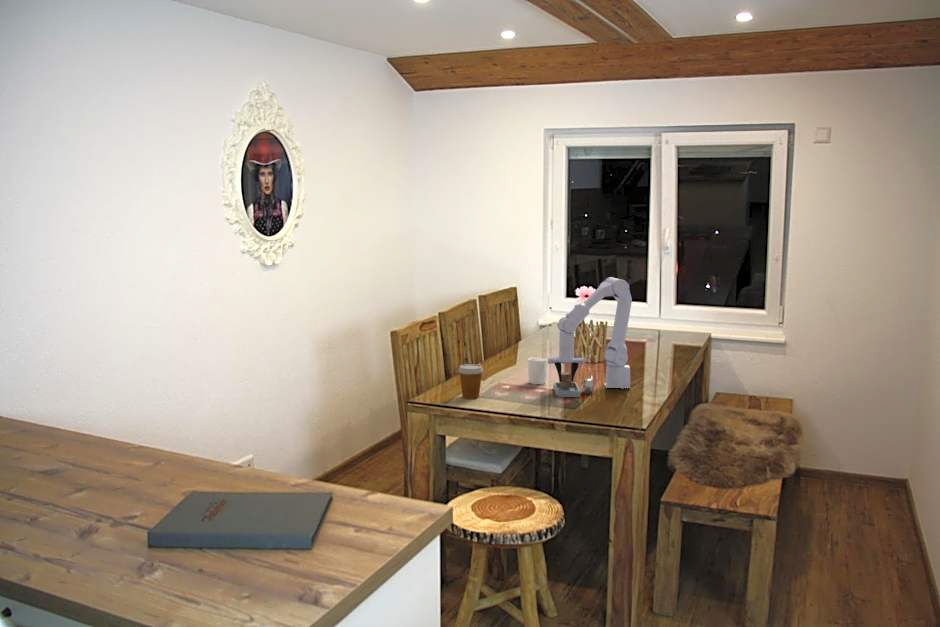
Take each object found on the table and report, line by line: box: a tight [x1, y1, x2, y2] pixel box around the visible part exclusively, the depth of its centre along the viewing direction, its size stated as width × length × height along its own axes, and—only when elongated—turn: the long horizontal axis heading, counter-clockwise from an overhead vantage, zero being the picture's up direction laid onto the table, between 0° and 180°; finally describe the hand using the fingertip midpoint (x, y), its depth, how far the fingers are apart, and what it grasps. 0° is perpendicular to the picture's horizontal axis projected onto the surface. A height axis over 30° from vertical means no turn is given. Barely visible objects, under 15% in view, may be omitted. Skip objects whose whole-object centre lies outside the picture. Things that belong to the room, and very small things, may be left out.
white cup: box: [527, 356, 548, 385], centre depth 327 cm, size 8×8×10 cm
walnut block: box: [560, 371, 572, 387], centre depth 314 cm, size 4×4×5 cm
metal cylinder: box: [582, 378, 594, 394], centre depth 312 cm, size 4×4×5 cm
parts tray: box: [553, 381, 581, 398], centre depth 311 cm, size 9×14×2 cm, turn 179°
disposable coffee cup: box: [458, 363, 484, 400], centre depth 303 cm, size 10×10×12 cm
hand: (565, 381), depth 314 cm, fingers closed on walnut block, 4 cm apart
